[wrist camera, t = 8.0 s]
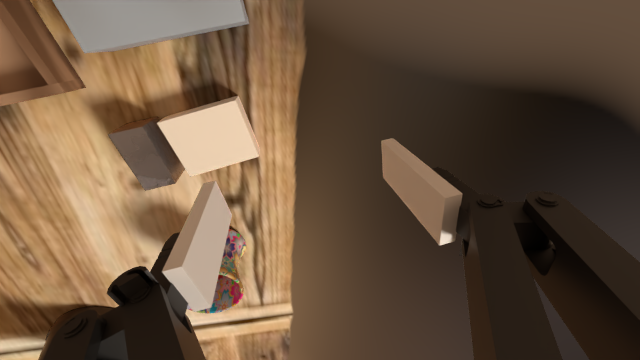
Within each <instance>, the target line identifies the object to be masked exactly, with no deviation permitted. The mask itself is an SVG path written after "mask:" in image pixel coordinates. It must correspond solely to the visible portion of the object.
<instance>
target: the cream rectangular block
mask: <svg viewBox="0 0 640 360" xmlns="http://www.w3.org/2000/svg"><path fill="white" fill-rule="evenodd" d="M157 124H158V126H159V127H160V129H161V131H162V132H163V134H164V135H165V137H166V139H167V140H168V142H169V143H170V145H171V147H172V148H173V150H174V152H175V153H176V155H177V156H178V158H179V160H180V161H181V163H182V165H183V166H184V168H185V169H186V171H187V173H188V174H189V176H190V177H191V176H195V175H198V174H202V173H205V172H208V171H212V170H215V169H218V168H222V167H225V166H228V165H232V164H235V163H239V162H242V161H245V160H249V159H252V158H255V157H259V150H260V147H259V145H258V143H257V140H256V138H255V135H254V133H253V130H252V128H251V125H250V123H249V120H248V118H247V115H246V113H245V111H244V108H243V106H242V103H241V101H240V98H239V96H235V97H231V98H228V99H224V100H221V101H217V102H214V103H210V104H207V105H203V106H200V107H196V108H193V109H189V110H186V111H182V112H179V113H175V114H172V115H169V116H166V117H164V118H163V119H162V120H160V121H159V122H158V123H157Z"/></svg>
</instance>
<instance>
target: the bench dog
mask: <svg viewBox="0 0 640 360" xmlns="http://www.w3.org/2000/svg"><path fill="white" fill-rule="evenodd" d="M159 121H160V120H159V118H158V117H153V118H149V119H144V120H140V121H135V122H131V123H127V124H125V125H123V126H122V127H120V128H118V129H116V130H115V131H113V132H111V133H109V134H108V136H109V138H110V139H111V141H112V142H113V144H114V145H115V146H116V148H117V149H118V151H119V152H120V154H121V155H122V157H123V158H124V160H125V161H126V163H127V164H128V166H129V167H130V169H131V170H132V172H133V173H134V175H135V176H136V178H137V179H138V181H139V182H140V184H141V185H142V187H143V188H144V190H145V191H146V190H150V189H154V188H158V187H162V186H167V185H171V184H175V183H176V182H177V180H178V179H179V177H180V176H181V174H182V173H183V171H184V170H185V168H184V166H183V165H182V163H181V161H180V160H179V158H178V156H177V155H176V153H175V152H174V150H173V148H172V147H171V145H170V143H169V142H168V140H167V139H166V137H165V135H164V134H163V132H162V131H161V129H160V127H159V126H158V124H157V123H158V122H159Z"/></svg>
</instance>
